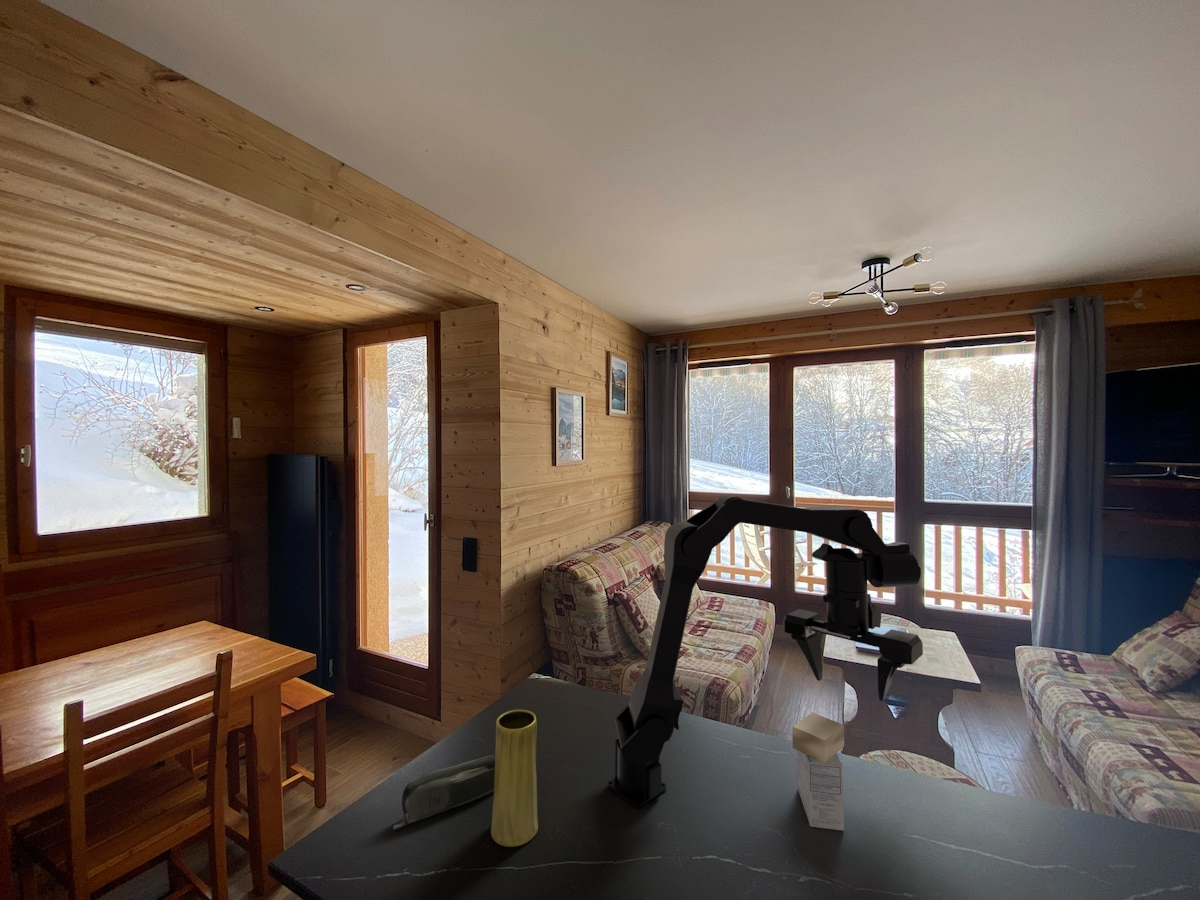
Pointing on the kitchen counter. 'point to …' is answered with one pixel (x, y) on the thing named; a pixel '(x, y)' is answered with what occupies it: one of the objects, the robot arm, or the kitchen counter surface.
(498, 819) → the vase
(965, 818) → the kitchen counter surface
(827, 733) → the beech block
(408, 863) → the kitchen counter surface
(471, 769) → the stapler
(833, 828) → the medicine box
